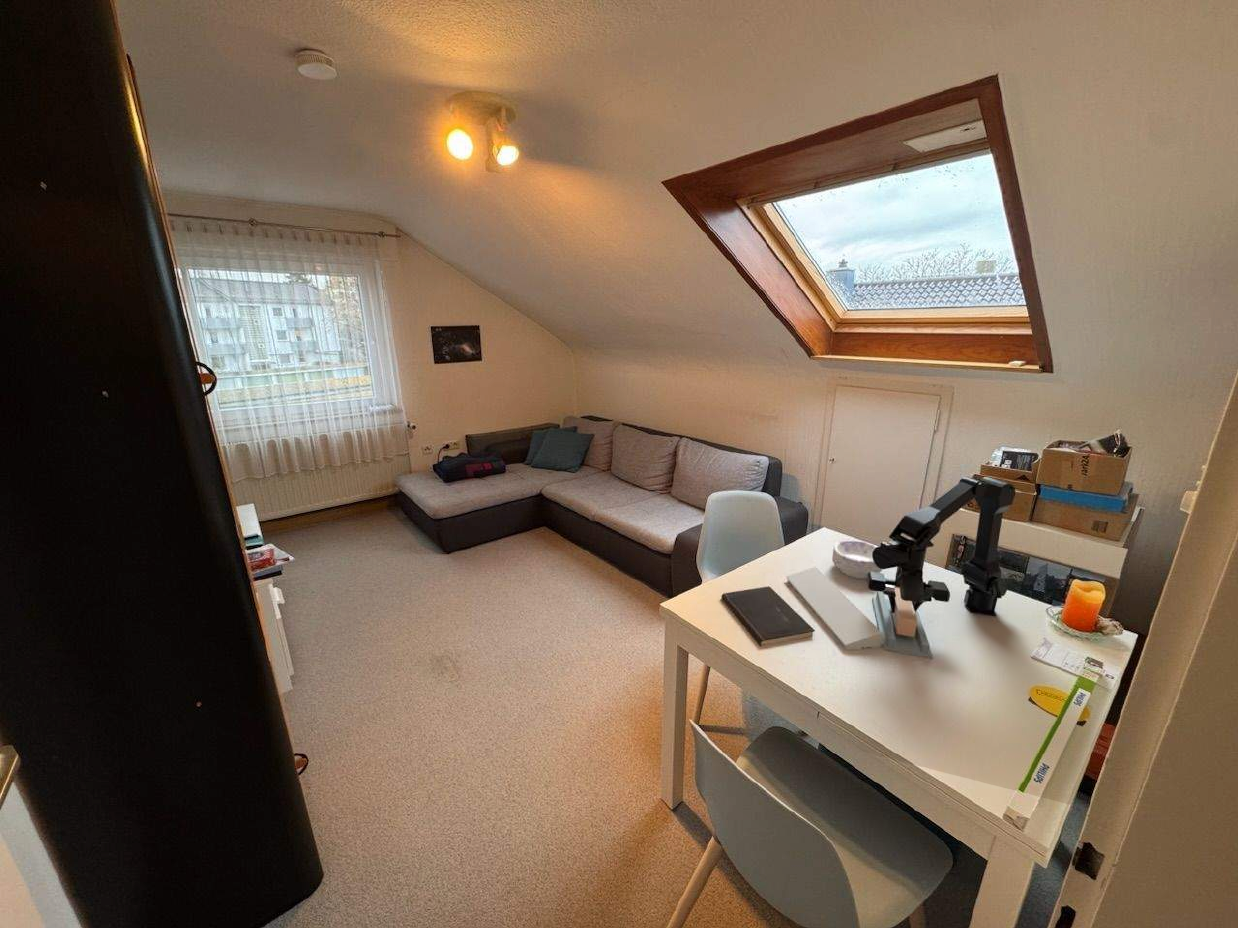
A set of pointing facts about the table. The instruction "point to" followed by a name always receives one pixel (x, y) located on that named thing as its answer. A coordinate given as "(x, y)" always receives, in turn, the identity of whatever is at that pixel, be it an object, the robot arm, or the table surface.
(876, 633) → the light grey long wedge
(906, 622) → the clay strip
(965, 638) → the table surface
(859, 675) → the table surface
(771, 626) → the hardcover book
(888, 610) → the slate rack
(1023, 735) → the table surface
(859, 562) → the white purple speckled bowl
